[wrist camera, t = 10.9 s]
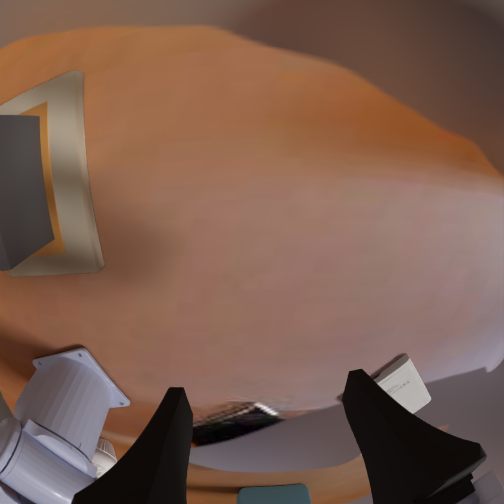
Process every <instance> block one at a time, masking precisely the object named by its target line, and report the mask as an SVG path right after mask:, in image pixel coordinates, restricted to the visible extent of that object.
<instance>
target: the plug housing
mask: <svg viewBox="0 0 504 504" xmlns="http://www.w3.org/2000/svg"><path fill="white" fill-rule="evenodd" d="M53 240H55V238H54V234H53V229H52V224H51V219H50V214H49V209H48V203H47V197H46V191H45V183H44V176H43V167H42V156H41V142H40V116H28V115H0V270H11V269H13V268H14V267H15V266H17V265H18V264H20V263H21V262H22V261H24V260H25V259H27V258H28V257H29V256H31V255H32V254H34V253H35V252H37V251H38V250H39V249H41V248H42V247H44V246H45V245H47V244H48V243H50V242H52V241H53Z"/></svg>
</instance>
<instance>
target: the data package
mask: <svg viewBox="0 0 504 504" xmlns="http://www.w3.org/2000/svg"><path fill="white" fill-rule="evenodd" d="M237 504H312V503H311V499H310V494H309V490H308V488H307V487H306V486H305V485H303V484H293V485H281V486H263V487H244V488H242V489H241V490H240V491H239V494H238V496H237Z"/></svg>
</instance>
